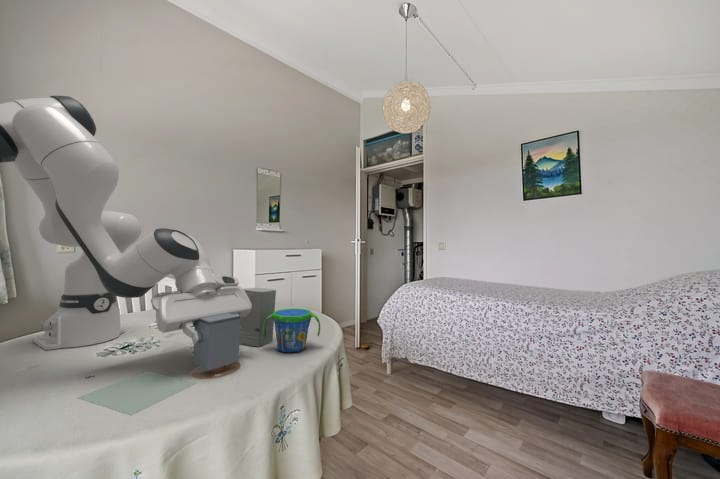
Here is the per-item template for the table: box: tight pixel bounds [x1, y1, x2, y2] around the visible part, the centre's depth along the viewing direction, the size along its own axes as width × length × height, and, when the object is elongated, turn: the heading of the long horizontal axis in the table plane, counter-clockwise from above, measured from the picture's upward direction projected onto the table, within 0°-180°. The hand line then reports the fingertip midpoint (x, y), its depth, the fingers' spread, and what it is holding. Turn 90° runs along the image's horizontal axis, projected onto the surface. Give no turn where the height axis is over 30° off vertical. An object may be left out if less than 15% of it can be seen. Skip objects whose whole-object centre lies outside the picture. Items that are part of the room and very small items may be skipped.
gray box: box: [193, 313, 240, 371], centre depth 64 cm, size 7×7×10 cm
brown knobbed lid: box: [190, 361, 241, 380], centre depth 64 cm, size 10×10×4 cm
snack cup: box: [263, 308, 321, 353], centre depth 79 cm, size 16×10×10 cm
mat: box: [76, 371, 197, 416], centre depth 54 cm, size 15×12×1 cm
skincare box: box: [239, 287, 277, 348], centre depth 85 cm, size 8×7×16 cm
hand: (218, 337), depth 64 cm, fingers closed on gray box, 7 cm apart
